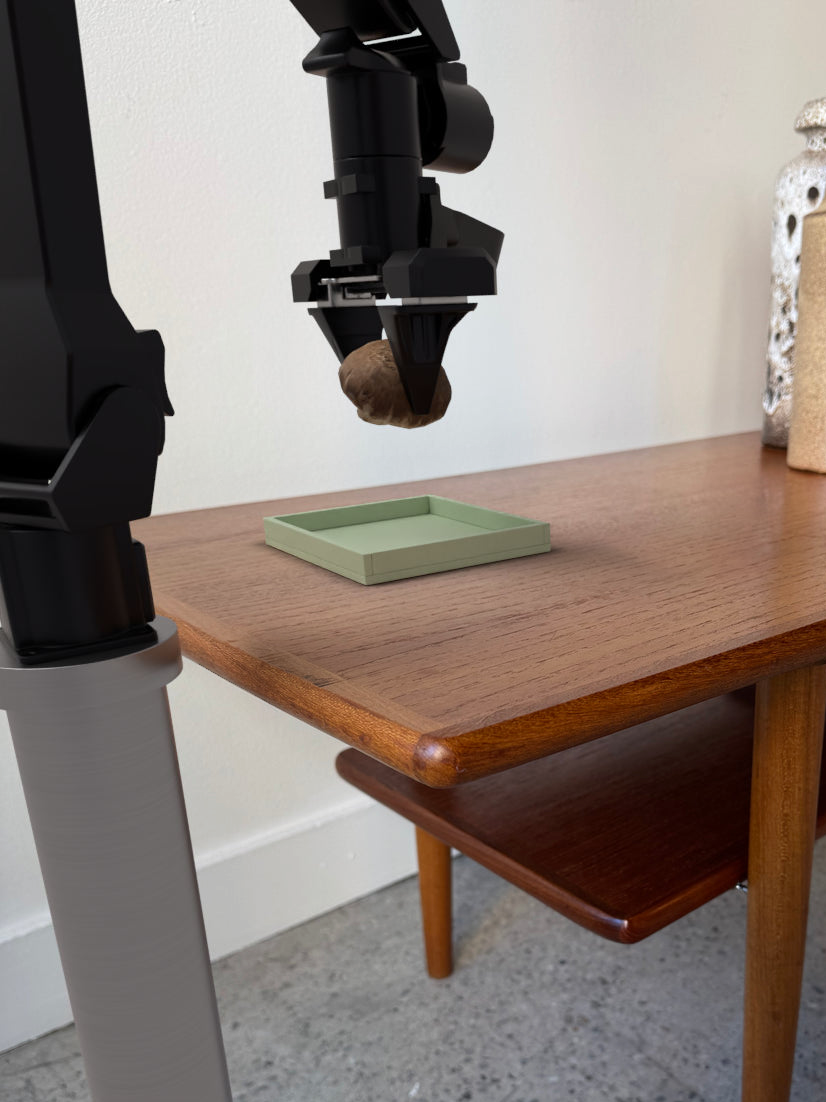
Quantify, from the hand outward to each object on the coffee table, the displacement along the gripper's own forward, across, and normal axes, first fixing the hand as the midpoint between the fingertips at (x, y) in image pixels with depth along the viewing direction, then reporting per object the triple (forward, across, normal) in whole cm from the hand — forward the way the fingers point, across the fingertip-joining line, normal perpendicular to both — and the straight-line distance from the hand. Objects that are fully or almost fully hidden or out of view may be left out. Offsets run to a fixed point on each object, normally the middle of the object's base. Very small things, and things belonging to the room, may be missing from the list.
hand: (396, 411), depth 73 cm
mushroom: (+1, 0, 0) cm, 1 cm away
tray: (+10, +3, -1) cm, 11 cm away
